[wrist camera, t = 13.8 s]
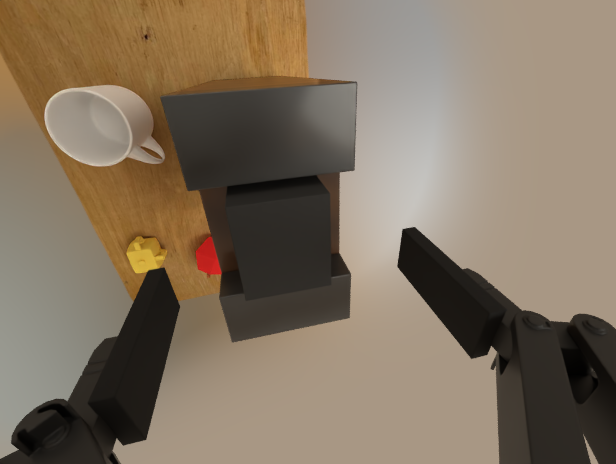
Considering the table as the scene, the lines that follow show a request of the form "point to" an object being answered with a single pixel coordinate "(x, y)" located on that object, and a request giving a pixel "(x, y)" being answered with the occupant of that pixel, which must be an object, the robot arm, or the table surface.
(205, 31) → the table surface
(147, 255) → the teapot
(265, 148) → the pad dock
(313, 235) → the pad
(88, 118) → the mug
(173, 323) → the robot arm
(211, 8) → the table surface
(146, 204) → the table surface
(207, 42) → the table surface
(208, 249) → the apple
